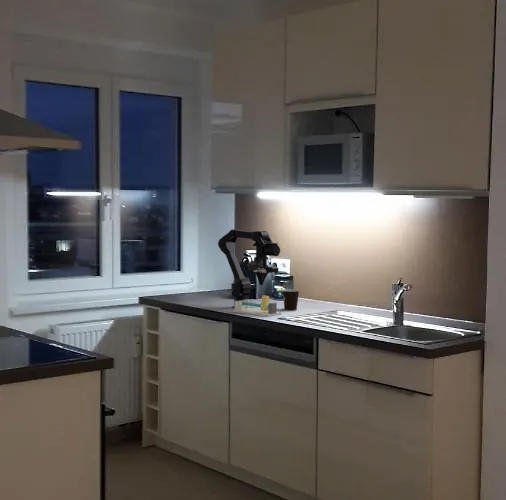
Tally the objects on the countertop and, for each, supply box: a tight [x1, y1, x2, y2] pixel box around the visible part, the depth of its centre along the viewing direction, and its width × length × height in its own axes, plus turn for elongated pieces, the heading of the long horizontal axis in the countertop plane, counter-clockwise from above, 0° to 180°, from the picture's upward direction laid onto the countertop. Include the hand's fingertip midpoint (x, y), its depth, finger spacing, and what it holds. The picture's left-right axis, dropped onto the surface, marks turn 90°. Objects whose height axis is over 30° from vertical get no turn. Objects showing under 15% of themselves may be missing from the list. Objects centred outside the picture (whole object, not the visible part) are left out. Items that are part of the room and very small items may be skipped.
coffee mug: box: [282, 289, 300, 311], centre depth 422 cm, size 12×9×10 cm
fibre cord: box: [242, 302, 278, 314], centre depth 407 cm, size 22×4×5 cm, turn 50°
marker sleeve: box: [260, 295, 271, 311], centre depth 404 cm, size 3×4×7 cm
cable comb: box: [232, 298, 282, 317], centre depth 407 cm, size 23×11×6 cm, turn 50°
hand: (261, 285), depth 417 cm, fingers closed
